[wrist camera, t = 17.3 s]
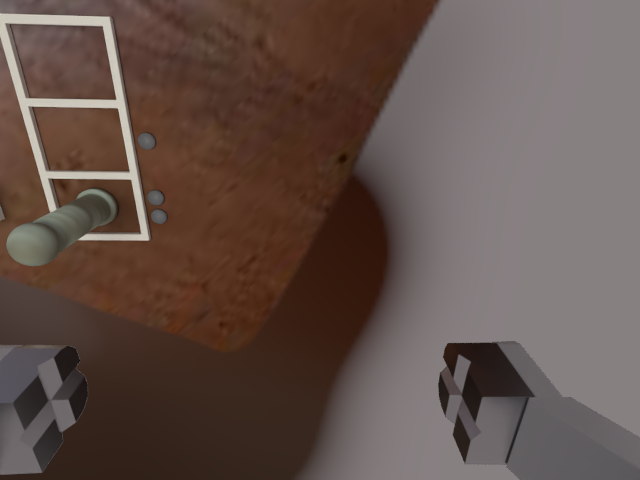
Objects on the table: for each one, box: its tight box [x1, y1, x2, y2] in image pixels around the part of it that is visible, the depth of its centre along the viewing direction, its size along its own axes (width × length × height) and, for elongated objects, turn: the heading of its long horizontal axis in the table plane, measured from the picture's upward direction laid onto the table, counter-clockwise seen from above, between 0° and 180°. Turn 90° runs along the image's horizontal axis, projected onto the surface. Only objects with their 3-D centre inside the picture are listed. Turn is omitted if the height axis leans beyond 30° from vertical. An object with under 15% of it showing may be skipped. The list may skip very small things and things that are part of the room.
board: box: [0, 14, 167, 240], centre depth 41 cm, size 24×13×1 cm, turn 179°
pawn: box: [7, 188, 118, 266], centre depth 39 cm, size 4×4×14 cm
